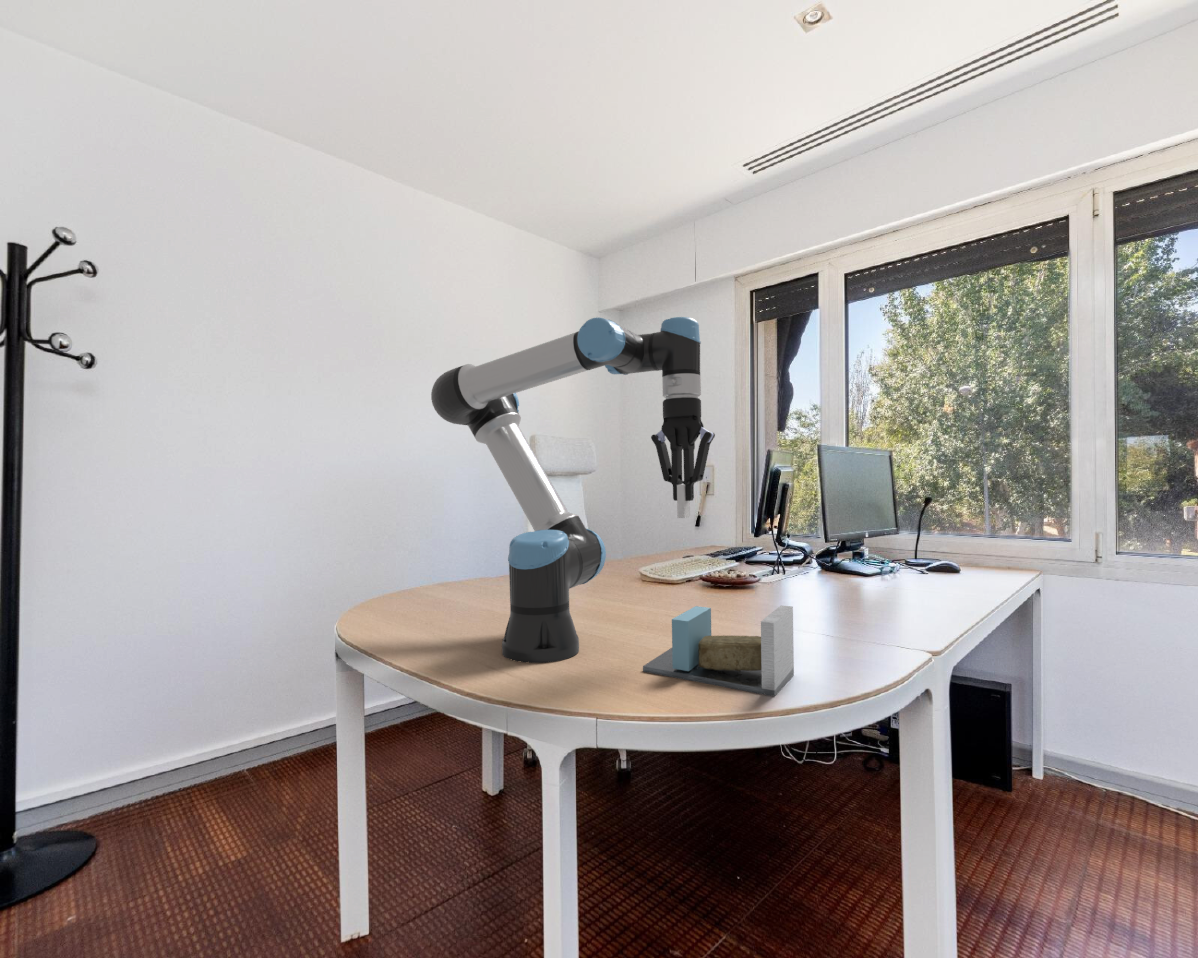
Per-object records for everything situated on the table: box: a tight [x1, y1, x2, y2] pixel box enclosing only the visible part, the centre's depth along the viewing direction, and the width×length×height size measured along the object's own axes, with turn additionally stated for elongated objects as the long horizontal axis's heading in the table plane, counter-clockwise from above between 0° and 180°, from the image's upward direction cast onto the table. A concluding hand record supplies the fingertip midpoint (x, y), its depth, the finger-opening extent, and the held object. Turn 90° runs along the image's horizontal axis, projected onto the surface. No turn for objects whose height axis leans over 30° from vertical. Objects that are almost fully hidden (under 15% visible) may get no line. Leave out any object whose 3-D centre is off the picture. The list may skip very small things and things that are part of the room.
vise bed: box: [642, 605, 795, 697], centre depth 101 cm, size 23×12×12 cm, turn 58°
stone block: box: [698, 635, 762, 671], centre depth 99 cm, size 6×12×5 cm, turn 71°
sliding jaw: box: [671, 605, 712, 671], centre depth 103 cm, size 3×11×8 cm, turn 148°
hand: (683, 517), depth 115 cm, fingers closed
